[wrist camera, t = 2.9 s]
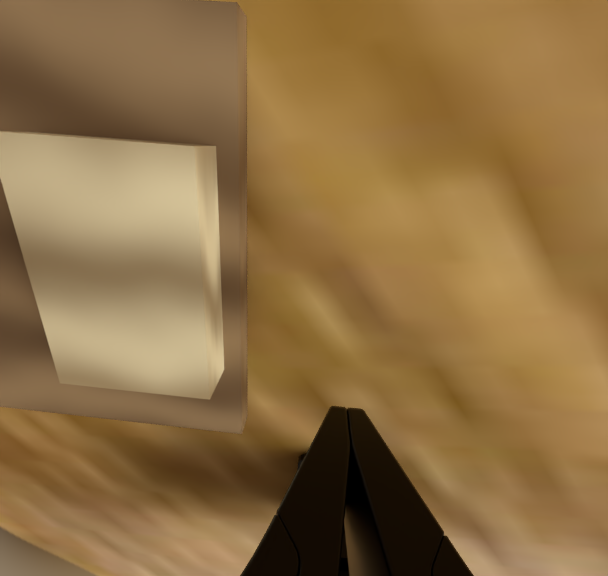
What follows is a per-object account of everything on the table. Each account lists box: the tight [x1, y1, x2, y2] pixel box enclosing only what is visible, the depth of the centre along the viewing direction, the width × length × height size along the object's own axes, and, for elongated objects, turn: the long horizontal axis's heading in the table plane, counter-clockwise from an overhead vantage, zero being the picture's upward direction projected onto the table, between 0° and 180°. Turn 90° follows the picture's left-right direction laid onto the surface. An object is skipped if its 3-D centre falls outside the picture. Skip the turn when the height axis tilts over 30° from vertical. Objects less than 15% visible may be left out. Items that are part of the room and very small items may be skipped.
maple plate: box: [0, 131, 224, 400], centre depth 16 cm, size 12×8×2 cm, turn 176°
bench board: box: [0, 0, 247, 434], centre depth 16 cm, size 22×22×5 cm
